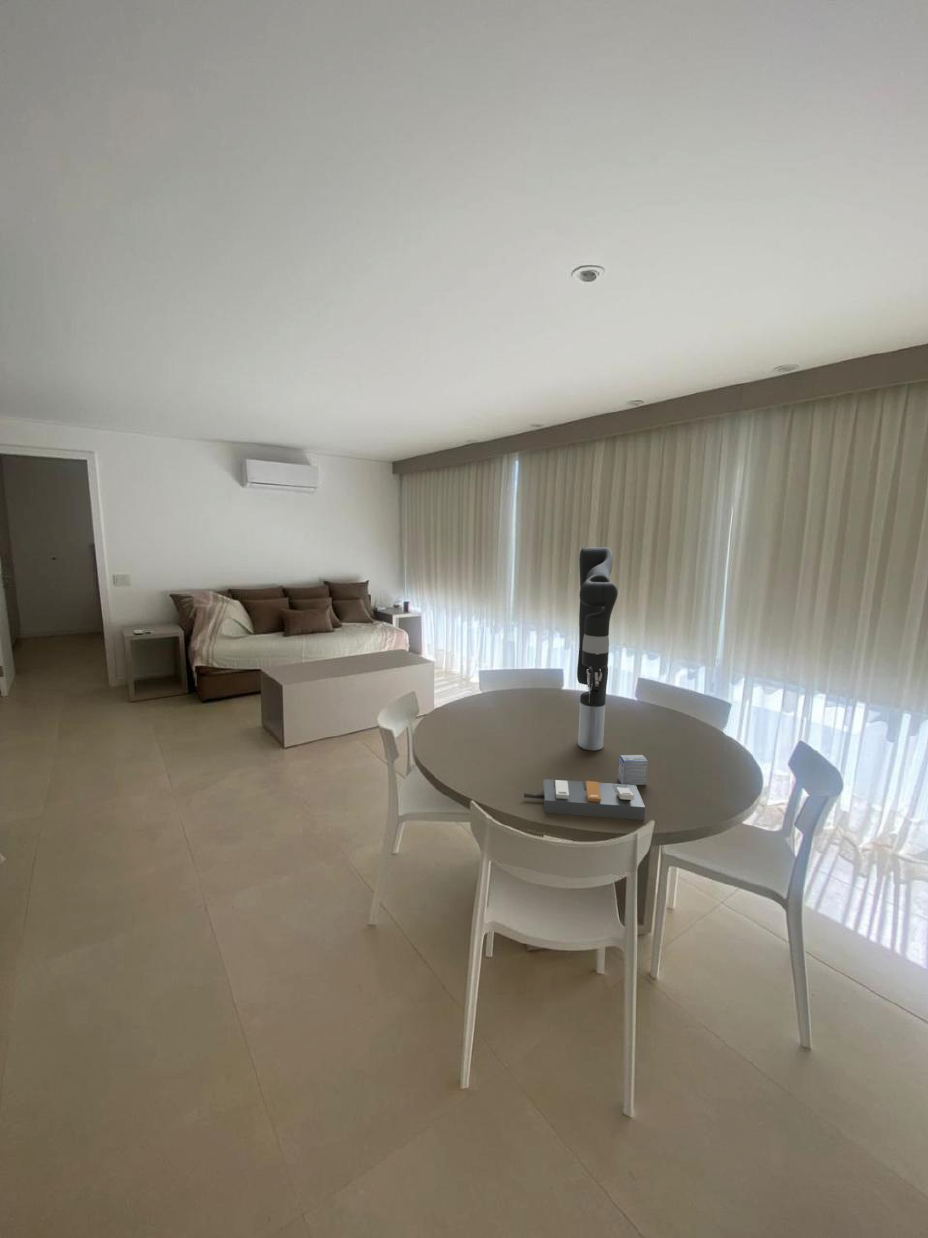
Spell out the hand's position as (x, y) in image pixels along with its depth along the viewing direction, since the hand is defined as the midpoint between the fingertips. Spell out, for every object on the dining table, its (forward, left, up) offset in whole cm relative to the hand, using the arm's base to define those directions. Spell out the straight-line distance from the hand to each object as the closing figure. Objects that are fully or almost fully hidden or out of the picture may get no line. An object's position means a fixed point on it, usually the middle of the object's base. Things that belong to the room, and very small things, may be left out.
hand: (592, 704), depth 145 cm
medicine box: (-8, +15, -29) cm, 34 cm away
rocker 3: (+10, +9, -23) cm, 27 cm away
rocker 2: (+10, 0, -23) cm, 25 cm away
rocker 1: (+10, -9, -23) cm, 27 cm away
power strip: (+7, -3, -29) cm, 30 cm away
